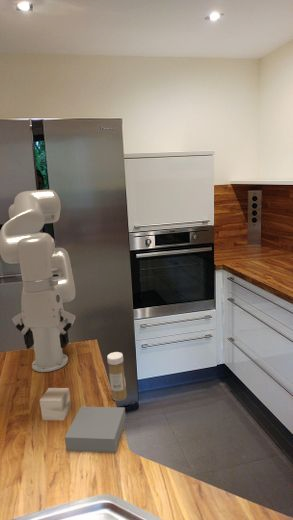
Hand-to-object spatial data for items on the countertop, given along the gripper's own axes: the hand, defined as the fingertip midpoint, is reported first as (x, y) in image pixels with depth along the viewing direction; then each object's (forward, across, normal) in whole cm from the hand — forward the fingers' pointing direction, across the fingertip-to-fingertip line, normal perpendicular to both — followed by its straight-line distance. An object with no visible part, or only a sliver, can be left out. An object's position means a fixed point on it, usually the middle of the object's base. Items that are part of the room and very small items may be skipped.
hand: (47, 346), depth 95 cm
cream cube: (+20, 0, 0) cm, 20 cm away
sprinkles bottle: (+20, -16, -8) cm, 27 cm away
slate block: (+21, -14, +8) cm, 26 cm away
